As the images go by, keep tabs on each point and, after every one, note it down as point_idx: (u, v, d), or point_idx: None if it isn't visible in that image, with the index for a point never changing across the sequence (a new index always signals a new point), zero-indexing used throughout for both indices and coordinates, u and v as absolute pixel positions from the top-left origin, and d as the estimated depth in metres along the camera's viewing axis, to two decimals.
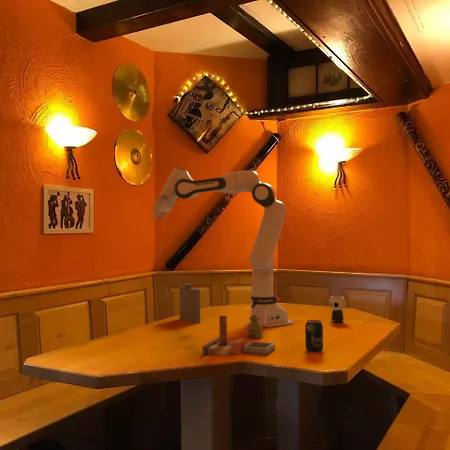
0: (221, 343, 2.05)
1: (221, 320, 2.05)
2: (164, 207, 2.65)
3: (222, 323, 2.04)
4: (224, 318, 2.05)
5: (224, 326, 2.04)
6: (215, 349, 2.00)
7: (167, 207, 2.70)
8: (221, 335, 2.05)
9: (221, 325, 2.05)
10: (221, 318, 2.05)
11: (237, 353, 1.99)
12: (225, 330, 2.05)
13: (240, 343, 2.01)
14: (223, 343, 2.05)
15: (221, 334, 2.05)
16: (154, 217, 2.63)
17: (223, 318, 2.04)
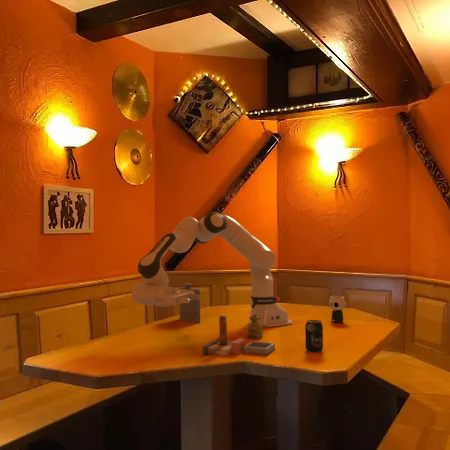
0: (221, 343, 2.05)
1: (221, 320, 2.05)
2: (175, 294, 2.12)
3: (222, 323, 2.04)
4: (224, 318, 2.05)
5: (224, 326, 2.04)
6: (215, 349, 2.00)
7: (180, 292, 2.16)
8: (221, 335, 2.05)
9: (221, 325, 2.05)
10: (221, 318, 2.05)
11: (237, 353, 1.99)
12: (225, 330, 2.05)
13: (240, 343, 2.01)
14: (223, 343, 2.05)
15: (221, 334, 2.05)
16: (186, 300, 2.06)
17: (223, 318, 2.04)
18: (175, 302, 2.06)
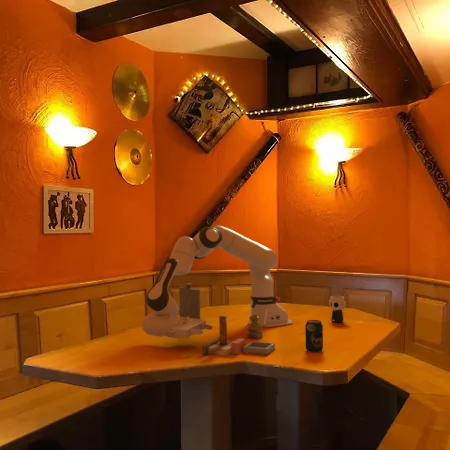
0: (221, 343, 2.05)
1: (221, 320, 2.05)
2: (187, 325, 2.09)
3: (222, 323, 2.04)
4: (224, 318, 2.05)
5: (224, 326, 2.04)
6: (215, 349, 2.00)
7: (191, 323, 2.14)
8: (221, 335, 2.05)
9: (221, 325, 2.05)
10: (221, 318, 2.05)
11: (237, 353, 1.99)
12: (225, 330, 2.05)
13: (240, 343, 2.01)
14: (223, 343, 2.05)
15: (221, 334, 2.05)
16: (199, 331, 2.04)
17: (223, 318, 2.04)
18: (188, 334, 2.03)
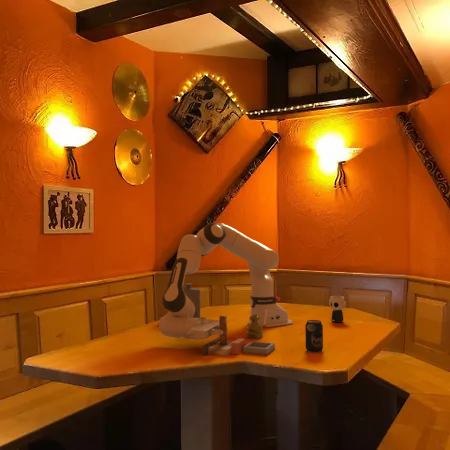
0: (221, 343, 2.05)
1: (221, 320, 2.05)
2: (205, 326, 2.06)
3: (222, 323, 2.04)
4: (224, 318, 2.05)
5: (224, 326, 2.04)
6: (215, 349, 2.00)
7: (209, 324, 2.11)
8: (221, 335, 2.05)
9: (221, 325, 2.05)
10: (221, 318, 2.05)
11: (237, 353, 1.99)
12: (225, 330, 2.05)
13: (240, 343, 2.01)
14: (223, 343, 2.05)
15: None
16: (220, 331, 2.03)
17: (223, 318, 2.04)
18: (206, 335, 2.00)
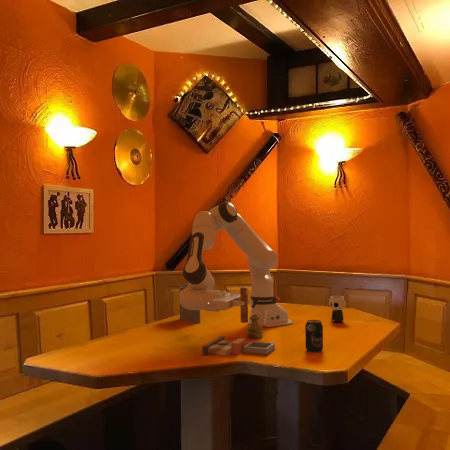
0: (242, 314, 2.04)
1: (242, 291, 2.04)
2: (225, 298, 2.05)
3: (243, 294, 2.03)
4: (245, 289, 2.04)
5: (245, 298, 2.03)
6: (215, 349, 2.00)
7: (230, 296, 2.10)
8: (242, 306, 2.04)
9: (242, 296, 2.04)
10: (242, 289, 2.04)
11: (237, 353, 1.99)
12: (246, 301, 2.04)
13: (240, 343, 2.01)
14: (244, 314, 2.04)
15: None
16: (241, 303, 2.02)
17: (244, 289, 2.03)
18: (228, 306, 1.99)
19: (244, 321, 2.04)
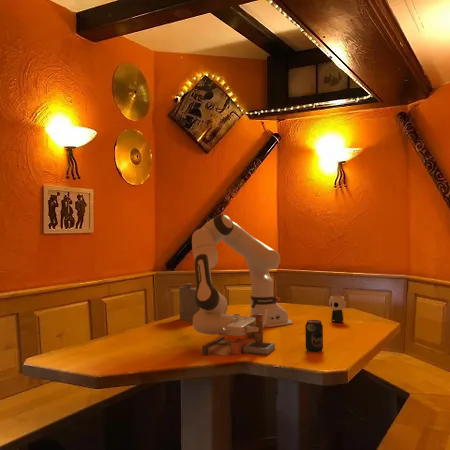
0: (257, 342, 2.03)
1: (257, 318, 2.03)
2: (240, 323, 2.04)
3: (258, 322, 2.03)
4: (260, 316, 2.03)
5: (260, 325, 2.03)
6: (215, 349, 2.00)
7: (244, 320, 2.09)
8: (257, 334, 2.03)
9: (257, 323, 2.03)
10: (257, 316, 2.03)
11: (237, 353, 1.99)
12: (261, 329, 2.03)
13: (240, 343, 2.01)
14: (259, 342, 2.03)
15: (257, 333, 2.03)
16: (255, 329, 2.01)
17: (259, 316, 2.03)
18: (243, 332, 1.98)
19: None
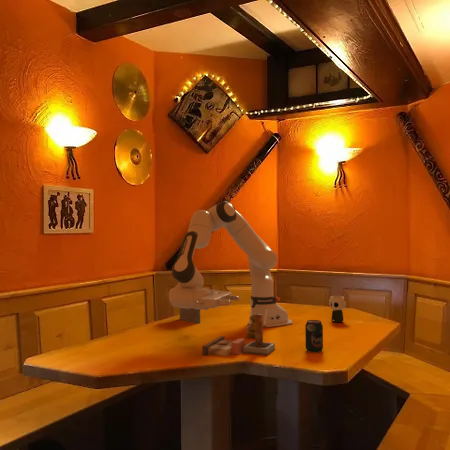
0: (257, 342, 2.03)
1: (257, 318, 2.03)
2: (214, 296, 2.09)
3: (258, 322, 2.03)
4: (260, 316, 2.03)
5: (260, 325, 2.03)
6: (215, 349, 2.00)
7: (218, 294, 2.13)
8: (257, 334, 2.03)
9: (257, 323, 2.03)
10: (257, 316, 2.03)
11: (237, 353, 1.99)
12: (261, 328, 2.03)
13: (240, 343, 2.01)
14: (259, 342, 2.03)
15: (257, 333, 2.03)
16: (227, 302, 2.04)
17: (259, 316, 2.03)
18: (216, 304, 2.03)
19: None
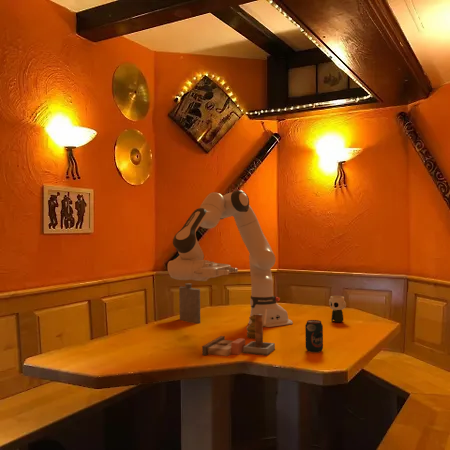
0: (257, 342, 2.03)
1: (257, 318, 2.03)
2: (213, 267, 2.09)
3: (258, 322, 2.03)
4: (260, 316, 2.03)
5: (260, 325, 2.03)
6: (215, 349, 2.00)
7: (217, 266, 2.13)
8: (257, 334, 2.03)
9: (257, 323, 2.03)
10: (257, 316, 2.03)
11: (237, 353, 1.99)
12: (261, 329, 2.03)
13: (240, 343, 2.01)
14: (259, 342, 2.03)
15: (257, 333, 2.03)
16: (225, 272, 2.04)
17: (259, 316, 2.03)
18: (214, 274, 2.03)
19: None
